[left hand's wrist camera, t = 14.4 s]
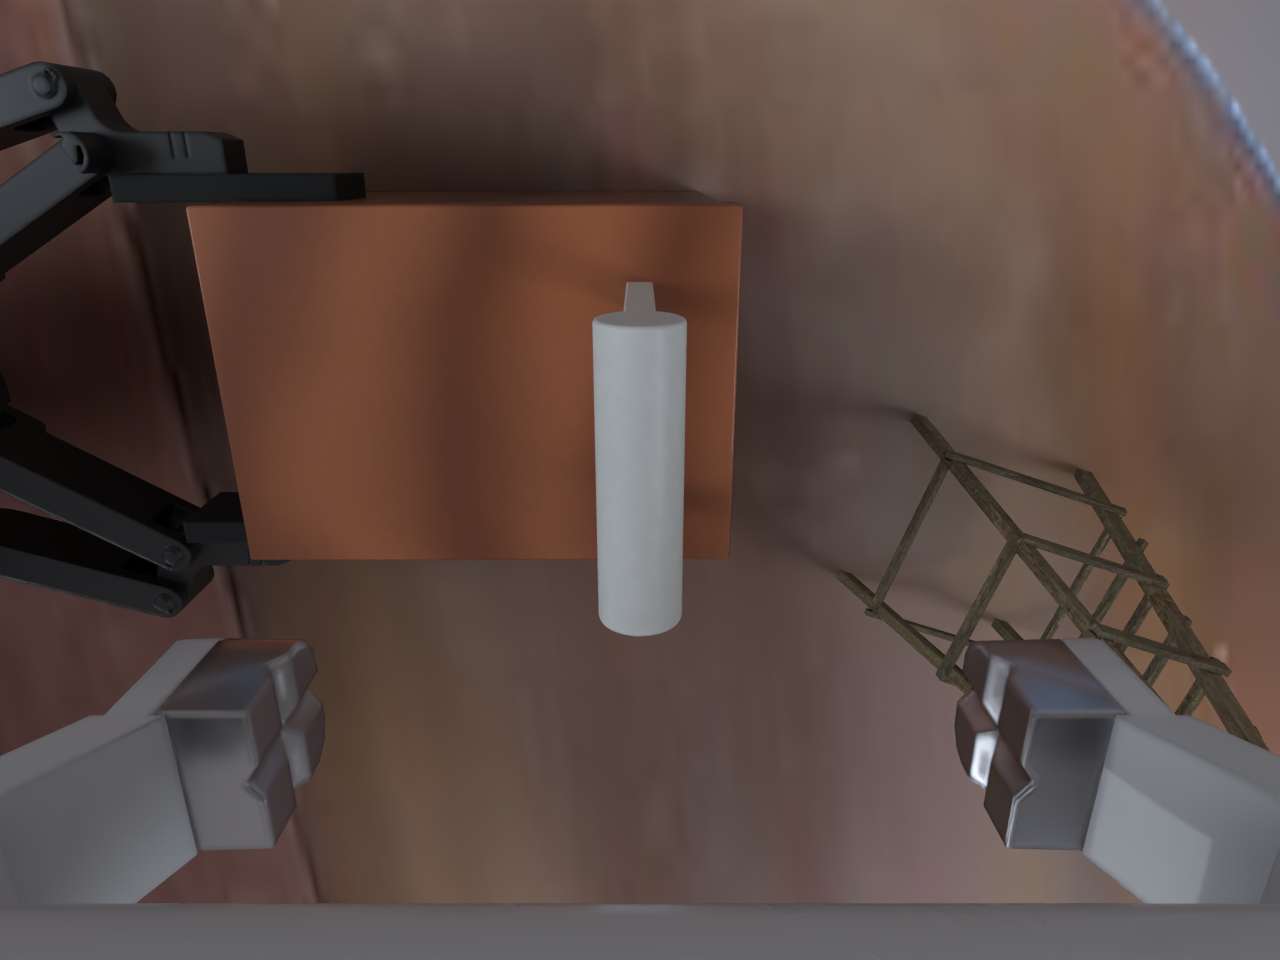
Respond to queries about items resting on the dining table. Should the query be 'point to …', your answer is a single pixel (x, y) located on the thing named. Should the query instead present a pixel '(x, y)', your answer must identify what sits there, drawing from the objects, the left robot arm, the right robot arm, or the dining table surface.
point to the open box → (515, 197)
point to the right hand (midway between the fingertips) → (372, 362)
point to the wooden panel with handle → (482, 383)
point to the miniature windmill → (1060, 589)
